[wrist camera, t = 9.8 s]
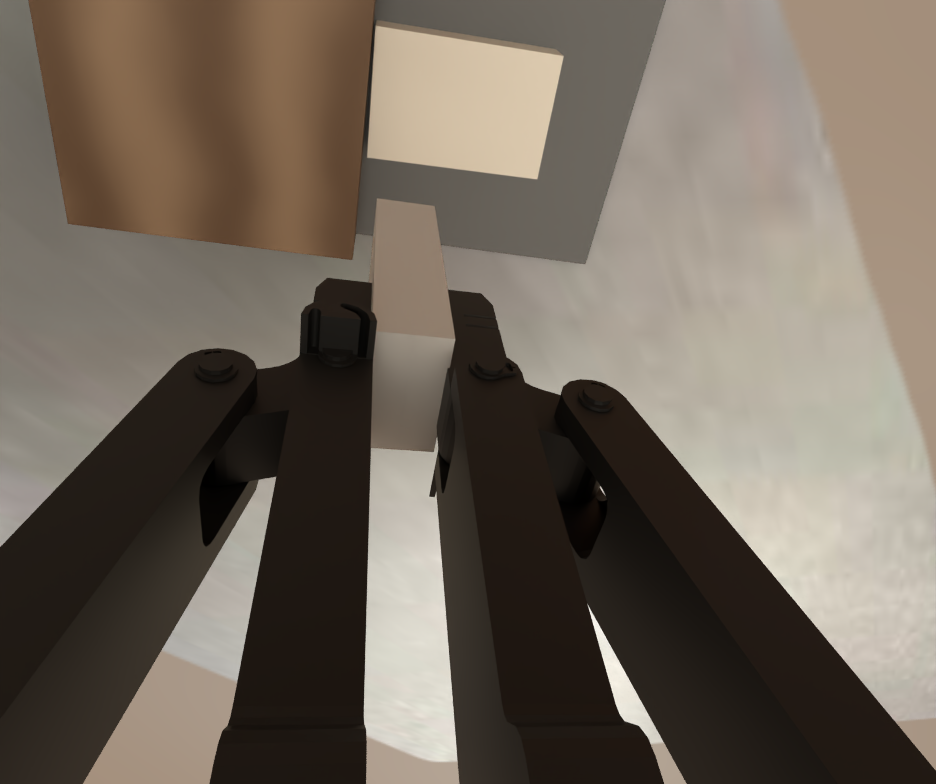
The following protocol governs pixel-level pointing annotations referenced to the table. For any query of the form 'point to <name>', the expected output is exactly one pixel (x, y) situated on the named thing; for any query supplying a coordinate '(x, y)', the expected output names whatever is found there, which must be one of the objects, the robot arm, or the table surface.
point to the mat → (568, 138)
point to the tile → (460, 100)
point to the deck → (210, 117)
